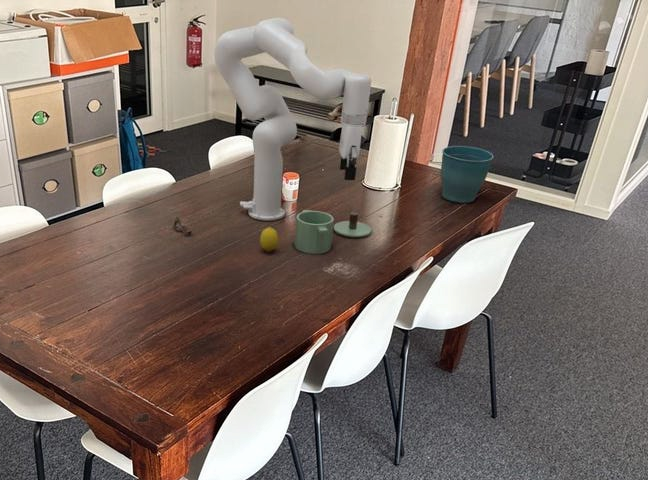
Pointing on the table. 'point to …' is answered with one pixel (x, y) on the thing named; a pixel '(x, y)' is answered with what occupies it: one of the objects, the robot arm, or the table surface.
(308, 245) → the crock
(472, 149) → the flower pot
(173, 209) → the table surface
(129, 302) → the table surface
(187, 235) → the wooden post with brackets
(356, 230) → the lid
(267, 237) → the lemon
